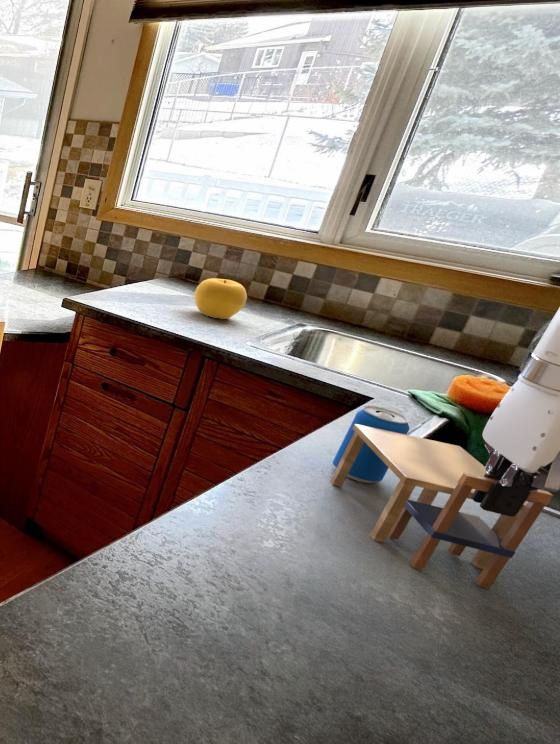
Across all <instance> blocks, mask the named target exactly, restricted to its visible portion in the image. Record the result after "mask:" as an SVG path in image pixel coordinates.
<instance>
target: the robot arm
mask: <svg viewBox="0 0 560 744" xmlns="http://www.w3.org/2000/svg"><path fill="white" fill-rule="evenodd" d="M482 438H483V441H484V446H485V448H486V450H487V452H488V457H489V459H488V461H487V463H486V464H485V466H484V467H485V472H486V473H489V474H485V475H484V477H486V478H491V479H495V480H500V482H496V481H494V483H493V484H492V486H491V488H490V489H489V491H488V492H484V491H480V490H475V491H474V493H473V495H472V496H471V499H470V500H472V501H473V502H475V503H478V504H479V507H480V509H482V510H483V511H486V512H490V513H495V514H498V515H501V514H502V515H506V516H511V517H514V516H516V515H517V513H518V512H519V510H520V509H521V507H522V506H523V504H524V502H525V501H526V499H527V498H528V496H529V495H530V493H535V492H537V490H538V489H540V490H544V491H548V492H554V493H557V492H558V491H560V306H559V307H558V309H557V311H556V312H555V314H554V315H553V317H552V319H551V321H550V322H549V324H548V326H547V327H546V329H545V331H544V333H543V334H542V336H541V337H540V339H539V341H538V343H537V345H536V346H535V348H534V350H533V351H532V353H531V354H530V357H529V358H528V360H527V361H526V363H525V365H524V366H523V369H522V370H521V372H520V373H519V375H518V377H517V380H516V381H515V382H514V383H513V385H512V386H511V387H510V388H509V390H508V391H507V392H506V393H505V395H504V396H503V398H502V399H501V401H500V402H499V403H498V404H497V406H496V408H495V409H494V410H493V412H492V414H491V416H490V417H489V419H488V421H487V422H486V424H485V427H484V428H483V431H482Z"/></svg>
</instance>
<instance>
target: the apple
mask: <svg viewBox="0 0 560 744" xmlns="http://www.w3.org/2000/svg"><path fill="white" fill-rule="evenodd" d="M247 299H248V294H247V290H246V288H245V286H243V285H242V284H241V283H239V282H237V281H234V280H231V279H224V278H216V277H215V278H214V277H212V278H207V279H204V280H202V281H201V282H200V283H199V284H198V285H197V287H196V288H195V291H194V302H195V305H196V308H197V310H198V311H199V312H200V313H201V314H203V315H204V316H206V315H207V316H206V317H208V316H211V317H214V318H220V319H219V320H228V319H230V318H232V317H233V316H235V315H236V314H237V313H239V312H240V311H241V310H242V309H243V308H244V306H245V305H246V302H247ZM214 318H213V319H214Z"/></svg>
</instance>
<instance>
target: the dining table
mask: <svg viewBox="0 0 560 744" xmlns="http://www.w3.org/2000/svg"><path fill="white" fill-rule="evenodd" d="M352 429H353V430H354V431H355V432H354V434H353V436H352V438H351V440H350V442H349V444H348V446H347V448H346V450H345V452H344V454H343V456H342V458H341V460H340V462H339V464H338V466H337V468H336V467H335V470H334V472H333V474H332V476H331V478H330V480H329V483H330V484H331V485H332V486H335V487H340V488H341V487H343V484H344V482H345V481H346V479H347V477H346V476H347V475H348V473H349V471H350V469H351V467H352V465H353V463H354V461H355V459H356V457H357V455H358V453H359V451H360V449H361V447H362V445H363V443H364V442H365V443H366V444H367V445H368V446H369V447H370V448H371V449H372V450H373V451H374V452H375V453H376V455H377V456H378V457H379V458H380V459H381V460H382V461H383V462H384V463H385V464H386V465H387V466H388V467H389V468H388V469H389V470H390V471H391V472H392V473H393V474H394V476H396V477H397V479H399V481H398V483H397V485H396V487H395V489H394V490H393V491H392V494H391V496H390V498H389V500H388V501H387V504H386V505H385V507H384V509H383V511H382V513H381V514H380V516H379V518H378V519H377V522H376V523H375V525H374V527H373V528H372V530H371V532H370V534H369V536H370V537H371V539H372V540H373V541H376V542H380V543H385V541H386V539H387V538H388V534H389V533H390V531H391V529H392V527H393V525H394V524H395V522H396V520H397V518H398V516H399V515H400V513H401V511H402V509H403V508H404V506H405V504H406V502H407V500H410V497H411V496H412V493H413V491H414V490H415V488H416V487H417V488H422V490H421V492H420V493H419V495H418V497H417V499H416V500H415V501H416V502H420V503H424V504H428V505H432V504H433V502H434V500H435V499H436V497H437V495H438V493H444V494H446V495H447V494H448V495H451V494H452V492H453V491H454V489H455V487H456V486H457V484H458V483H457V482H458V480H459V478H460V477H461V475H462V473H463V472H464V473H469V474H473V475H478V476H482V477H484V475H485V474H489V473H486V472H485V466H484V465H483V464H482V463H481V462H480V461H478V460H477V459H476V458H475V457H474V456H473V455H471V454H470V453H469V452H468V451H467V450H466V449H464V448H463V447H461V446H460V445H456V444H451V443H447V442H441V441H437V440H432V439H429V438H428V439H427V438H423V437H419V436H413V435H410V434H407V435H405V434H400V433H396V432H391V431H386V430H382V429H377V428H372V427H368V426H363V425H358V424H354V426H353V428H352ZM475 490H476V489H472V490H471V492H470V494H469V495H468V497H467V499H469V500H472V499H471V496H472V495H473V493H474V491H475ZM526 504H527V501H525V502H524V504H523V506H522V507H521V509H520V510H519V512H518V513H517V515H516V516H514V517H511V516H506V515H502V514H499V517H497V520H496V521H495V523H494V524H493V526H492V527H491V529H492V530H493V531H494V532H495V533H496V534H497V535H498V536H499V537H500V538H501V539H502V540H503V539H504V538H505V536H506V535H507V533H508V532H509V530H510V529H511V527H512V525H513V524H514V522H515V521H516V519H517V518H518V516H519V515H520V513H521V512H522V510H523V509H524V507H525V505H526ZM492 555H493V553H490V552H486V551H483V550H479V549H477V551H476V553H475V554H474V556H473V558H472V559H471V561H470V563H472V565H473V566H474V567H475V568H478V569H482V570H483V569H484V567H485V566H486V564H487V563H488V561H489V560H490V558H491V556H492Z"/></svg>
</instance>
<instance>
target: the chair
mask: <svg viewBox="0 0 560 744" xmlns="http://www.w3.org/2000/svg"><path fill="white" fill-rule="evenodd" d="M494 481H496V482H500V480H495V479H491V478H486V477H482V476H478V475H473V474H469V473H464V472H463V473H462V475H461V477H460V478H459V480H458V482H457V483H458V484H457V486H456V487H455V489H454V491H453V492H452V494H450V496H449V497H448V499H447V501H446V502H445V504H444V505H443V507H440V506H437V505H432V504H431V505H428V504H424V503H420V502H416V501H417V500H411V499H408V500H407V502H406V504H405V506H404V508H403V509H402V511H401V513H400V515H399V516H398V518H397V520H396V522H395V524H394V525H393V527H392V529H391V531H390V533H389V534H388V536H387V538H389V539H391V540H395V541H399V539H400V538H401V536H402V534H403V533H404V531H405V529H406V528H407V525H408V524H409V522H410V520H411V519H412V518H413V519H414V520H415V521H416V522H417V524H419V525H420V527H421V528H422V529H423V530H424V531H425V532H426V533H427V534H426V535H425V537H424V539H423V541H422V542H421V544H420V545H419V548H418V549H417V550H416V552H415V554H414V555H413V557H412V559H411V560H410V562H409V564H410V566H411V567H412V568H413V569H416V570H419V571H423V570H424V569H425V567H426V565H427V564H428V562H429V560H430V558H431V557H432V555H433V554H434V552H435V550H436V549H437V547H438V545H439V544H440V542H441V541H443V542H444V541H445V542H448V543H450V544H449V546H448V548H447V552H448V553H449V554H450V555H452V556H456V557H461V555H462V554H463V552H464V551H465V549H466V548H467V547H468V548H471V549H475V550H483V551H486V552H490V553H493V555H492V556H491V558H490V560H489V561H488V563H487V564H486V566H485V567H484V569H482V570H481V572H480V574H479V575H478V576H477V578H476V579H475V583H476V584H477V585H478V586H479V587H480V588H484V589H488V590H490V588H491V587H492V585H493V584H494V582H495V581H496V579H497V578H498V576H500V573H501V572H502V570H503V569H504V568H505V566H506V565H507V563H508V561H509V560H510V559H512V558H513V557H514V555H515V554H516V551H517V549H518V548H519V546H520V544H521V543H522V542H523V540H524V539H525V537H526V535H527V534H528V532H529V531H530V530H531V528H532V526H533V525H534V523H535V522H536V520H537V519H538V517H539V516H540V514H541V513H542V511H543V510H544V508H545V507H547V506H548V504H549V503H550V501H551V500H552V499H553V497H554V494H552V493H551V492H550V491H548V490H544V489H538V490H537V492H535V493H530V495H529V496H528V498H527V499H526V501H527V504H526V505H525V507H524V509H523V510H522V512H521V513H520V515H519V516H518V518H517V519H516V521H515V522H514V524H513V525H512V527H511V529H510V530H509V532H508V533H507V535H506V536H505V538H504V539H503V540H502V539H501V538H500V537H499V536H498V535H497V534H496V533H495V532H494V531H493V530H492V527H490V526H489V525H488V524H486V522H485V521H484V520H483V519H481V518H480V516H477V515H473V514H469V513H465V512H461V511H460V510H461V509H462V507H463V505H464V504H465V502H466V500H467V499H468V498H467V497H468V495H469V494H470V492H471V490H472V489H476V490H480V491H484V492H488V491H489V489H490V488H491V486H492V484H493V483H494Z"/></svg>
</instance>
